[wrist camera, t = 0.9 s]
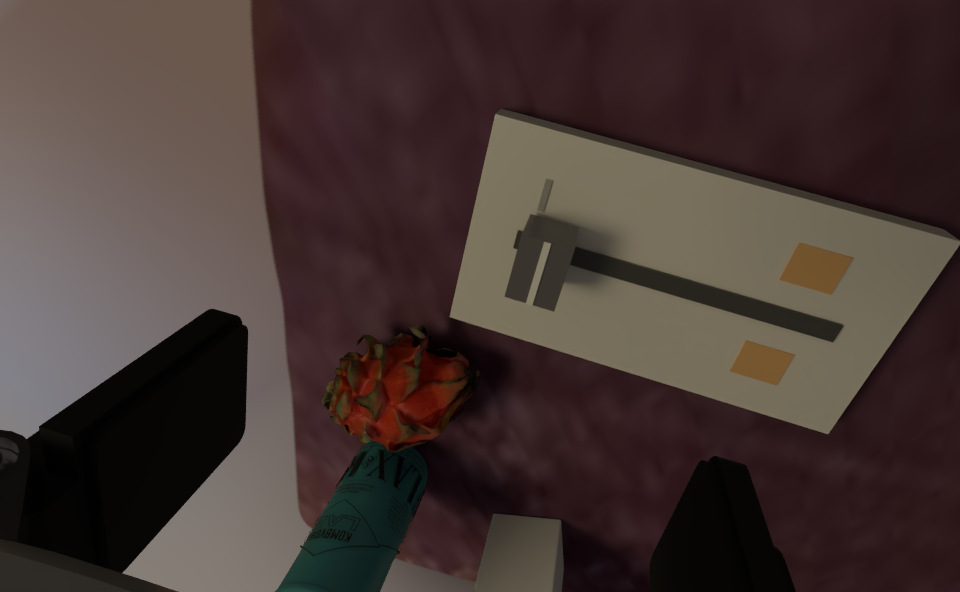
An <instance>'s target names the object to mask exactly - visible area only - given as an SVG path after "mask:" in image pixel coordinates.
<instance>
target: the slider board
mask: <svg viewBox="0 0 960 592" xmlns="http://www.w3.org/2000/svg"><path fill="white" fill-rule="evenodd" d="M530 214H533V215H536V216H540V217H543V218H547V219H550V220H553V221H557V222H560V223H564V224H567V225H571V226H574V227H578V228H579V229H578V235H577V240H576V245H575V250H574V253H573V256H572V259H571V262H570V265H569V268H568V271H567V274H566V278H565V281H564V284H563V287H562V290H561V293H560V296H559V299H558V302H557V305H556V308H555V311H554V312H553V311H550V310H547V309H543V308H540V307H537V306H533V305H532V306H531V305H527V304H526V303H524V302H520V301H517V300H514V299H510V298H507V297H504V296H505V293H506V289H507V285H508V282H509V278H510V275H511V271H512V267H513V264H514V260H515V256H516V253H517V249H518V246H519V242H520V238H521V235H522V232H523V230H524V228H525V226H526V223H527V221H528V219H529V216H530ZM959 245H960V240H958V239H957V238H955V237H954V236H953V235H951V234H950V233H948V232H947V231H945V230H944V229H941V228H937V227H934V226H930V225H926V224H923V223H919V222H915V221H912V220H908V219H904V218H901V217H897V216H893V215H890V214H886V213H882V212H879V211H875V210H871V209H868V208H864V207H860V206H857V205H853V204H849V203H846V202H842V201H839V200H835V199H831V198H828V197H824V196H820V195H817V194H813V193H809V192H806V191H802V190H798V189H795V188H791V187H787V186H784V185H780V184H776V183H773V182H769V181H765V180H762V179H758V178H754V177H751V176H747V175H743V174H740V173H736V172H732V171H729V170H725V169H721V168H718V167H714V166H710V165H707V164H703V163H699V162H696V161H692V160H688V159H685V158H681V157H677V156H674V155H670V154H666V153H663V152H659V151H655V150H652V149H648V148H644V147H641V146H637V145H633V144H630V143H626V142H622V141H619V140H615V139H611V138H608V137H604V136H600V135H597V134H593V133H589V132H586V131H582V130H578V129H575V128H571V127H567V126H564V125H560V124H556V123H553V122H549V121H545V120H542V119H538V118H534V117H531V116H527V115H523V114H520V113H516V112H512V111H509V110H505V109H501V110H500V111H498V112H497V113H496V114H495V118H494V123H493V127H492V132H491V136H490V141H489V145H488V149H487V154H486V158H485V163H484V167H483V171H482V176H481V180H480V185H479V189H478V194H477V198H476V202H475V207H474V211H473V216H472V220H471V225H470V229H469V233H468V238H467V242H466V247H465V251H464V256H463V260H462V264H461V269H460V273H459V278H458V282H457V287H456V291H455V295H454V300H453V304H452V309H451V313H450V317H451V318H454V319H457V320H461V321H464V322H467V323H470V324H474V325H477V326H480V327H483V328H487V329H490V330H493V331H496V332H499V333H503V334H506V335H509V336H512V337H516V338H519V339H522V340H525V341H529V342H532V343H535V344H538V345H541V346H545V347H548V348H551V349H554V350H558V351H561V352H564V353H567V354H571V355H574V356H577V357H580V358H583V359H587V360H590V361H593V362H596V363H600V364H603V365H606V366H609V367H613V368H616V369H619V370H622V371H625V372H629V373H632V374H635V375H638V376H642V377H645V378H648V379H651V380H655V381H658V382H661V383H664V384H667V385H671V386H674V387H677V388H680V389H684V390H687V391H690V392H693V393H697V394H700V395H703V396H706V397H709V398H713V399H716V400H719V401H722V402H726V403H729V404H732V405H735V406H739V407H742V408H745V409H748V410H752V411H755V412H758V413H761V414H764V415H768V416H771V417H774V418H777V419H781V420H784V421H787V422H790V423H794V424H797V425H800V426H803V427H806V428H810V429H813V430H816V431H819V432H823V433H826V434H829V432H830V431H831V429H832V428H833V426H834V425H835V424H836V422H837V421H838V419H839V418H840V416H841V415H842V413H843V412H844V411H845V409H846V408H847V406H848V405H849V403H850V402H851V401H852V399H853V398H854V396H855V395H856V393H857V392H858V390H859V389H860V388H861V386H862V385H863V383H864V382H865V380H866V379H867V378H868V376H869V375H870V373H871V372H872V370H873V369H874V367H875V366H876V365H877V363H878V362H879V360H880V359H881V357H882V356H883V355H884V353H885V352H886V350H887V349H888V347H889V346H890V344H891V343H892V342H893V340H894V339H895V337H896V336H897V334H898V333H899V331H900V330H901V329H902V327H903V326H904V324H905V323H906V321H907V320H908V319H909V317H910V316H911V314H912V313H913V311H914V310H915V308H916V307H917V306H918V304H919V303H920V301H921V300H922V298H923V297H924V296H925V294H926V293H927V291H928V290H929V288H930V287H931V285H932V284H933V283H934V281H935V280H936V278H937V277H938V275H939V274H940V273H941V271H942V270H943V268H944V267H945V265H946V264H947V262H948V261H949V260H950V258H951V257H952V255H953V254H954V252H955V251H956V250H957V248H958V247H959Z"/></svg>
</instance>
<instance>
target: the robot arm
mask: <svg viewBox="0 0 960 592" xmlns="http://www.w3.org/2000/svg"><path fill="white" fill-rule="evenodd" d="M247 351H248V329H247V327H246V326H244V325H242V321H241V319H240V317H238V316H236V315H233V314H229V313H226V312H222V311H219V310H215V309H209V310H207V311H206V312H204V313H203V314H201V315H200V316H198V317H197V318H195V319H194V320H193V321H191V322H190V323H188V324H187V325H185V326H184V327H182V328H181V329H180V330H178V331H177V332H175V333H174V334H172V335H171V336H169V337H168V338H167V339H165V340H164V341H162V342H161V343H159V344H158V345H157V346H155V347H153V348H152V349H151V350H149V351H148V352H146V353H145V354H143V355H142V356H141V357H139V358H138V359H136V360H135V361H133V362H132V363H130V364H129V365H127V366H126V367H124V368H123V369H122V370H120V371H119V372H117V373H116V374H114V375H113V376H111V377H110V378H109V379H107V380H106V381H104V382H103V383H101V384H100V385H99V386H97V387H96V388H94V389H93V390H91V391H90V392H88V393H87V394H85V395H84V396H82V397H81V398H80V399H78V400H77V401H75V402H74V403H72V404H71V405H69V406H68V407H67V408H65V409H64V410H62V411H61V412H59V413H58V414H56V415H55V416H54V417H52V418H51V419H49V420H48V421H47V422H45V423H43V424H42V425H41V426H39V431H38V432H36V433H35V434H33V435H32V436H31V437H29V438H28V439H26V438H25V437H23V436H22V435H19V434H17V433H14V432H12V431H4V430H0V592H177V591H174V590H171V589H168V588H165V587H162V586H159V585H156V584H153V583H150V582H147V581H144V580H141V579H138V578H135V577H132V576H129V575H125V574H122V572H123V571H124V570H125V569H127V567H128V566H129V565H130V564H131V563H132V561H134V560H135V558H136V557H137V556H138V555H139V554H140V553H141V552H142V550H143V549H144V548H145V547H146V546H147V545H148V544H149V543H150V541H152V540H153V538H154V537H155V536H156V535H157V534H158V533H159V532H160V530H161V529H162V528H163V527H164V526H165V525H166V524H167V523H168V522H169V520H170V519H171V518H172V517H173V516H174V515H175V514H176V513H177V512H178V510H179V509H180V508H181V507H182V506H183V505H184V504H185V503H186V502H187V500H188V499H189V498H190V497H191V496H192V495H193V494H194V493H195V492H196V490H197V489H198V488H199V487H200V486H201V485H202V484H203V483H204V481H205V480H206V479H207V478H208V477H209V476H210V475H211V473H213V471H214V470H215V469H216V468H217V467H218V466H219V465H220V464H221V462H222V461H223V460H224V459H225V458H226V457H227V456H228V455H229V454H230V453H231V451H232V450H233V449H234V448H235V447H236V446H237V445H238V443H239V442H240V440H241V438H242V436H243V434H244V431H245V422H246V386H247V353H248V352H247ZM650 584H651V592H796V591H795V588H794V585H793V582H792V580H791V577H790V574H789V571H788V568H787V565H786V562H785V560H784V558H783V556H782V553H781V552H780V551H779V550H778V549H777V548H776V547H774V546H773V543H772V540H771V537H770V534H769V531H768V528H767V525H766V522H765V519H764V516H763V513H762V510H761V507H760V504H759V501H758V498H757V495H756V492H755V489H754V486H753V483H752V480H751V477H750V474H749V471H748V469H747V467H746V466H745V465H744V464H741V463H738V462H734V461H731V460H728V459H724V458H721V457H717V456H713V457H712V458H711V459H710V460H709V461H708V462H707V461H704V460H701V461H700V462H699V463H698V465H697V467H696V469H695V471H694V473H693V475H692V477H691V479H690V481H689V483H688V485H687V487H686V489H685V491H684V493H683V495H682V497H681V499H680V501H679V503H678V505H677V507H676V509H675V511H674V513H673V515H672V517H671V519H670V521H669V523H668V525H667V527H666V529H665V531H664V533H663V535H662V537H661V539H660V541H659V543H658V545H657V547H656V549H655V551H654V553H653V555H652V558H651V563H650Z"/></svg>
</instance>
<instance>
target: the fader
mask: <svg viewBox="0 0 960 592" xmlns="http://www.w3.org/2000/svg"><path fill="white" fill-rule="evenodd" d="M578 229H579V228H578V227H574V226H571V225H567V224H564V223H560V222H557V221H553V220H550V219H547V218H543V217H540V216H536V215H533V214H530V216H529V219H528V221H527V223H526V226H525V228H524V230H523V232H522V235H521V238H520V242H519V246H518V249H517V253H516V256H515V260H514V264H513V267H512V271H511V275H510V278H509V282H508V285H507V289H506V293H505V296H504V297H507V298H510V299H514V300H517V301H520V302H524V303H526V304H527V305H531V306H532V305H533V306H537V307H540V308H543V309H547V310H550V311H553V312H554V311H555V308H556V305H557V302H558V299H559V296H560V293H561V290H562V287H563V284H564V281H565V278H566V274H567V271H568V268H569V265H570V262H571V259H572V256H573V253H574V250H575V245H576V240H577V235H578Z"/></svg>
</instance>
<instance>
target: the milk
mask: <svg viewBox="0 0 960 592" xmlns="http://www.w3.org/2000/svg"><path fill="white" fill-rule="evenodd" d="M563 572H564V561H563V544H562V527H561V520H558V519H548V518H537V517H527V516H516V515H506V514H495V513H494V514H493V516H492V520H491V524H490V528H489V532H488V536H487V540H486V544H485V548H484V552H483V556H482V560H481V564H480V568H479V572H478V575H477V579H476V583H475V587H474V592H562V582H563Z"/></svg>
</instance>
